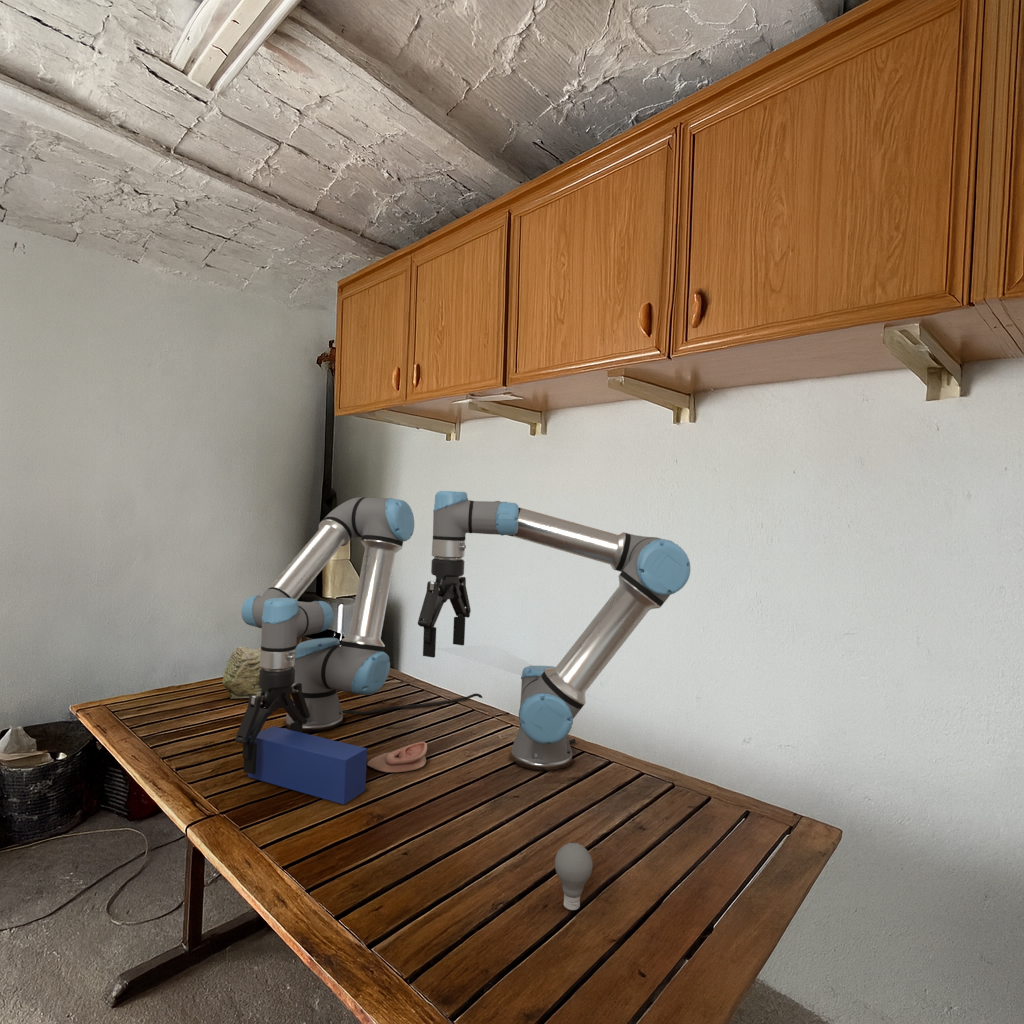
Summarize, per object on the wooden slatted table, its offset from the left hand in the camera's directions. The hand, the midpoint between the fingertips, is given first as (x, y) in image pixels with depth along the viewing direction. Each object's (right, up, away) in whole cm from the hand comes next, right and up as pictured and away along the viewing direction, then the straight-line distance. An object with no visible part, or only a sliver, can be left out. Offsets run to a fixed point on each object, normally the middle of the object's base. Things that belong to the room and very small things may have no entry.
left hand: (273, 761), depth 143 cm
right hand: (+38, +24, +3) cm, 46 cm away
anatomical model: (+26, -4, +9) cm, 28 cm away
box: (+8, -4, -3) cm, 10 cm away
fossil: (-27, -1, +55) cm, 61 cm away
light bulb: (+63, -7, -42) cm, 76 cm away
